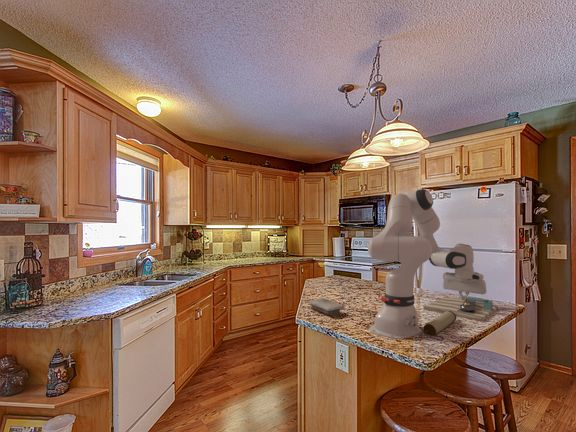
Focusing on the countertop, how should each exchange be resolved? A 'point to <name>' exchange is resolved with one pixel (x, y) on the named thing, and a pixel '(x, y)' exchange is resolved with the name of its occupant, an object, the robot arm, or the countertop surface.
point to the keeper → (486, 302)
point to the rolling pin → (439, 323)
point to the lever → (468, 305)
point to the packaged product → (326, 306)
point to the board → (454, 306)
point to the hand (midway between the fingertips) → (463, 299)
